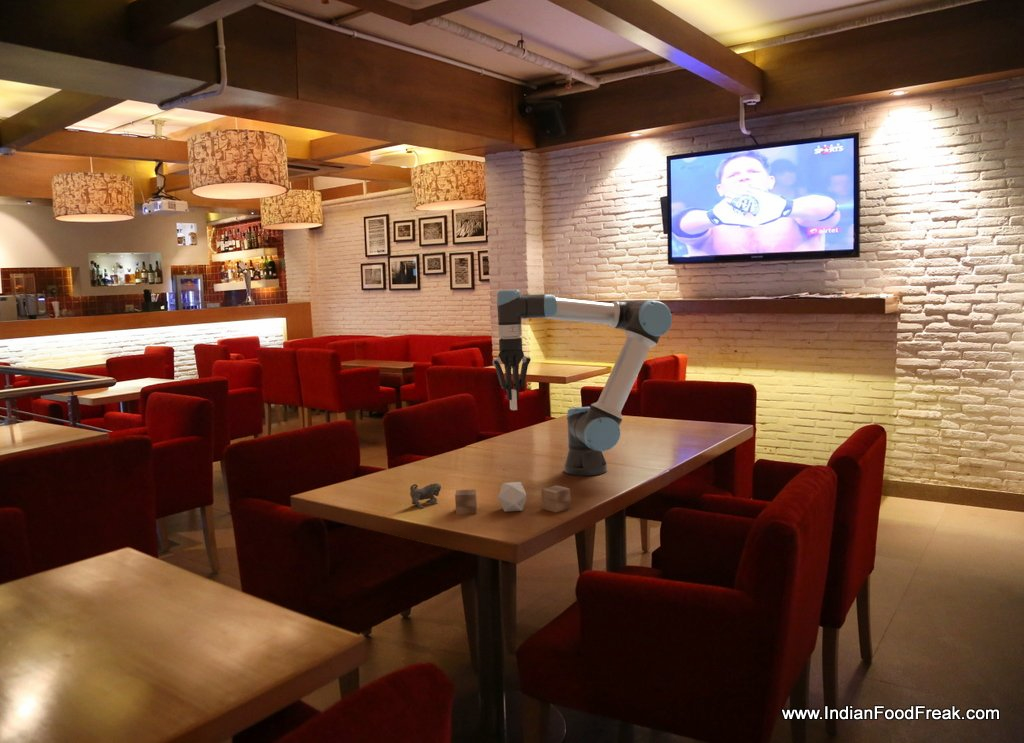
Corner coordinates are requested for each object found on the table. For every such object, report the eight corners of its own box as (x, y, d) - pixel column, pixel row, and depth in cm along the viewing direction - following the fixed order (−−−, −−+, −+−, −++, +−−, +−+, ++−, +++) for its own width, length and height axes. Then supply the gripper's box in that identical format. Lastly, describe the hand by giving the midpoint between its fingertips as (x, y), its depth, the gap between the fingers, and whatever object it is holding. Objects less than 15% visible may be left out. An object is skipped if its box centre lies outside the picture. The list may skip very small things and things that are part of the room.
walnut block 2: (556, 504, 239) (556, 485, 238) (570, 508, 234) (570, 488, 234) (542, 508, 235) (541, 489, 235) (556, 512, 231) (555, 492, 230)
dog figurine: (417, 510, 239) (416, 486, 239) (406, 507, 244) (405, 483, 243) (448, 501, 248) (447, 478, 247) (437, 498, 252) (435, 476, 251)
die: (517, 517, 229) (534, 487, 231) (490, 502, 230) (507, 472, 232) (517, 519, 237) (533, 490, 240) (491, 505, 238) (507, 476, 241)
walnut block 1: (477, 508, 239) (476, 489, 238) (476, 514, 233) (475, 494, 232) (457, 509, 238) (456, 490, 238) (456, 515, 233) (455, 495, 232)
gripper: (495, 339, 249) (498, 413, 252) (533, 336, 254) (536, 409, 256) (487, 338, 256) (491, 409, 259) (524, 335, 261) (527, 406, 263)
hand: (513, 409), depth 257 cm, fingers closed
